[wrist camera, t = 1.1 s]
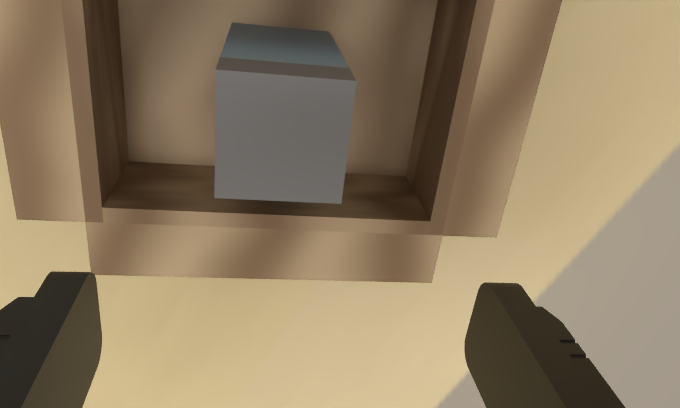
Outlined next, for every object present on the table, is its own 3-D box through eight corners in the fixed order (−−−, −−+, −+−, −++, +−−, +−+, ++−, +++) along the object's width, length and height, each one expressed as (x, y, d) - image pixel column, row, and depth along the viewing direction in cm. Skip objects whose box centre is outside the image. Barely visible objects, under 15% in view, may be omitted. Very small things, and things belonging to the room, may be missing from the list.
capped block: (329, 31, 29) (356, 81, 20) (320, 122, 31) (341, 203, 22) (232, 22, 28) (215, 69, 19) (229, 116, 30) (214, 198, 21)
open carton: (526, -93, 27) (588, -96, 22) (451, 230, 36) (483, 283, 30) (18, -162, 24) (-54, -187, 18) (66, 214, 32) (26, 273, 27)
